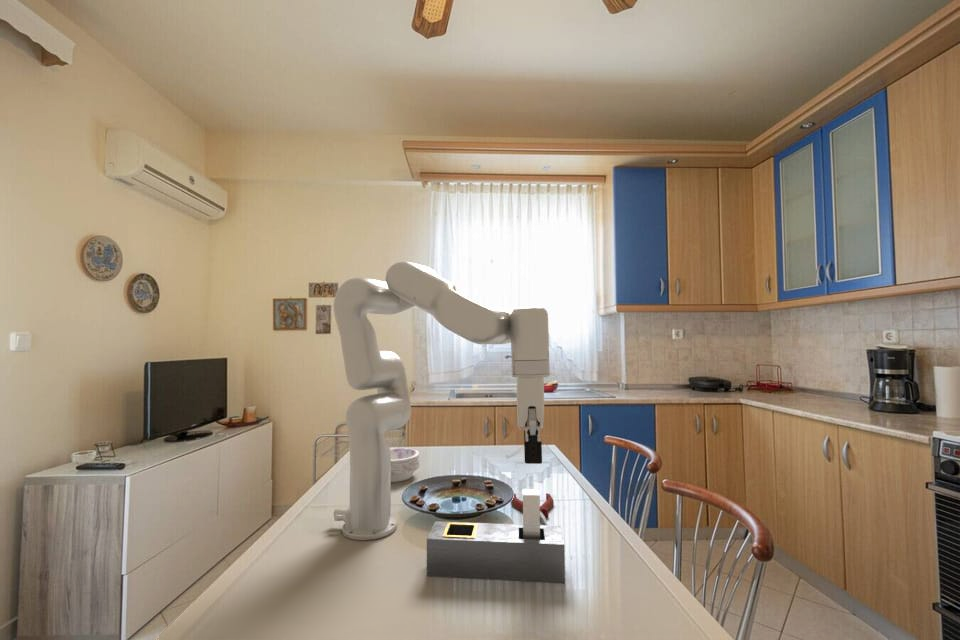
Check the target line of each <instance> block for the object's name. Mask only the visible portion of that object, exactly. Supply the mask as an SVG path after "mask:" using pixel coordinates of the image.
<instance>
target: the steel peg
mask: <svg viewBox="0 0 960 640" xmlns="http://www.w3.org/2000/svg"><path fill="white" fill-rule="evenodd" d="M540 497H541V495H540V489H532V488H531V489H530V488H529V489H528V488H524V489H522V502H523V512H522V525H523V539H532V540H540V525H541V521H540V506H541V505H540V503H541V502H540Z"/></svg>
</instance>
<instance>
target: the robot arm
mask: <svg viewBox="0 0 960 640" xmlns="http://www.w3.org/2000/svg"><path fill="white" fill-rule="evenodd" d="M334 296H335V297H334V300H333V313H334V319H335V322H336V327H337V329H338V333H339V337H340V342H341V343H340V344H341V351H342V358H343V364H344V370H345V376H346V381H347V383H348V385H349V386H350V388H352V389H353V390H357V391H367V390H374V389H375V390H377V393H373V394H369V395H363V396H360V397H358V398H356V399H354V400H353V401H352V402H351V403H350V405H348V408H347V409H346V413H345V424H346V429H347V433H348V440H349V441H348V443H349V507H347V509H344V508H334V511H333V518H334V521H335V522H339V521H340V522H342V521H343V522H344V523H343V525H342V529H341V530H342V534H343V536H345V538H348V539H350V540H355V541H371V540H377V539H380V538H385V537H387V536H389V535H391V534H392V533H394V532H395V530H396V529H397V527H398V520H397V519H396V517H394V516H393V515H391V509H392V507H391V505H392V504H391V500H392V499H391V495H392V494H391V493H392V492H391V483H392V482H391V452H390V449H391V448H390V444H389V441H388V439H387V437H386V434H385V433H386V432H391V431H394V430H396V429H398V428H399V429H400V428H401V427H403V426H405V425H406V424H407V422H409V419H410V418H411V414H412V405H411V404H412V403H411V397H410V391H409V386H408V379H407V373H406V368H405V365H404V363H403V361H402V359H401V357H400V356H399V355H398V354H397V353H395V352H394V351H390V350H380V348H379V345H378V339H377V333H376V331H375V328H374V326H373V324H372V322H371V321H370V320H369V318H368V317H367V315H368V314H372V315H373V314H374V315H389V316H390V315H397V314H400V313H402V312H405V311H406V310H409V309H411V308H413V307H417V308H419V309H420V310H423V312H426V313H428V314H429V315H431V316H433V318H434V319H435V320H436V321H437V322H438V323H439V324H440V325H441V326H442V327H444V328H445V329H447V330H449V331H450V332H452V333H453V334H455V335H457V336H460V337H461V338H462V339H464V340H466V341H469V342H471V343H473V344H476V345H504V344H510V350H511V351H510V352H511V353H510V354H511V377H512V378H516V411H517V412H516V414H517V415H516V417H517V418H516V420H517V422H516V423H517V428H518V430H522V428H524V430H523V433H524V434H523V439H524V440H523V442H524V443H523V444H524V446H523V447H524V448H523V449H524V463H525V464H527V465H528V464H530V465H531V464H536V465H538V464H540V465H541V464H542V462H543V452H542V451H543V449H542V448H543V447H542V446H543V445H542V440H541V429H543V427H544V418H545V379H544V378H548V377H551V376H550V374H551V373H550V370H551V369H550V340H549V339H550V337H549V315H548V314H549V313H548V311H547V309H545V308H544V307H542V306H522V307H521V306H520V307H516V308H514V309H505V308H504V309H503V308H497V307H492V306H486V305H482V304H479V303H478V302H476V301H474V300H471V299H470V298H467V296H463V295H461V294H460V293H459V292H457V289H456V286H455V284H454V283H453V282H452V281H449V280H447V279H445V278H443V277H441V276H439V275H438V274H437V272H436V271H435V270H434V269H432V268H431V267H429V266H425V265H422V264H418V263H415V262H410V261H399V262H398V261H397V262H396V263H394V264H392V265H391V266H390V267H388V269H387V271H386V272H385V281H384V280H379V279H373V278H369V277H353V278H350V279H347V280H346V281H344V282H343V283H341V285H340V286H339V287H338V289H337V291H336V293H335V295H334Z"/></svg>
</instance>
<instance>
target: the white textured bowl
mask: <svg viewBox="0 0 960 640" xmlns="http://www.w3.org/2000/svg"><path fill="white" fill-rule="evenodd" d="M390 452H391V483H399V482H404V481H407V480H409V479H411V478H412V476H413V474H414V473H415V472H416V471H417V470H419V468H420V465H421V464H420V452H419V450H417V449H414V448H410V447H409V448H406V447H397V448H396V447H394V448H390Z"/></svg>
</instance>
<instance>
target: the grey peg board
mask: <svg viewBox="0 0 960 640" xmlns="http://www.w3.org/2000/svg"><path fill="white" fill-rule="evenodd" d="M547 525H548V524H547ZM547 525H542V524H540V540H532V539H523V524H517V523H492V522H490V523H489V522H464V521H463V522H462V521H460V522H459V521H439V520H438V521H436V520H435V521H434V523H433V524H432V528H431V529H430V531H429V533H428V534H427V535H428V536H427V538H426V577H435V578H449V579H450V578H454V579H455V578H456V579H469V580H470V579H473V580H474V579H475V580H490V581H491V580H494V581H495V580H496V581H509V582H510V581H511V582H513V581H514V582H530V583H531V582H535V583H553V584H565V583H566V566H565V565H566V563H565V562H566V561H565V560H566V559H565V558H566V556H565V555H566V554H565V553H566V551H565V550H566V549H565V548H566V547H565V540H564V535H563V530H562V526H561V525H548V526H547Z"/></svg>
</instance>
